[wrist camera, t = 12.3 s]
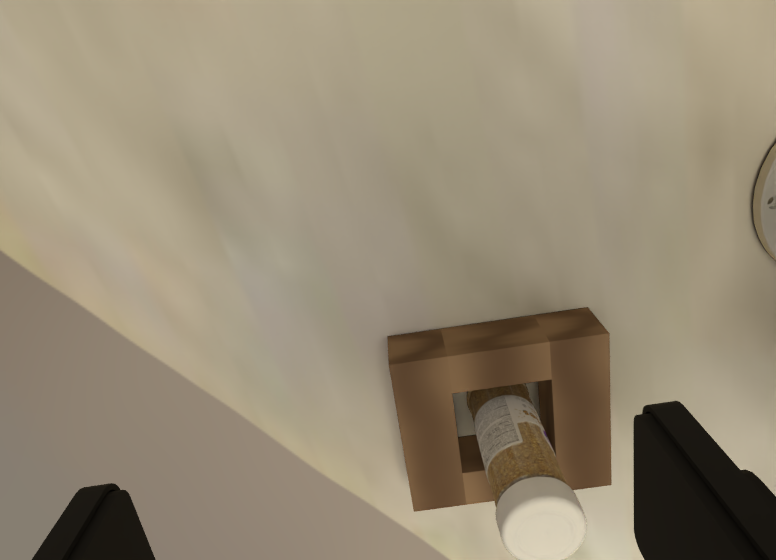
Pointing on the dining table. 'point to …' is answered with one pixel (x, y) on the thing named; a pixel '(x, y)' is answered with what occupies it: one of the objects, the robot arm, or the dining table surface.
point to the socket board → (495, 369)
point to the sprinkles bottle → (525, 476)
